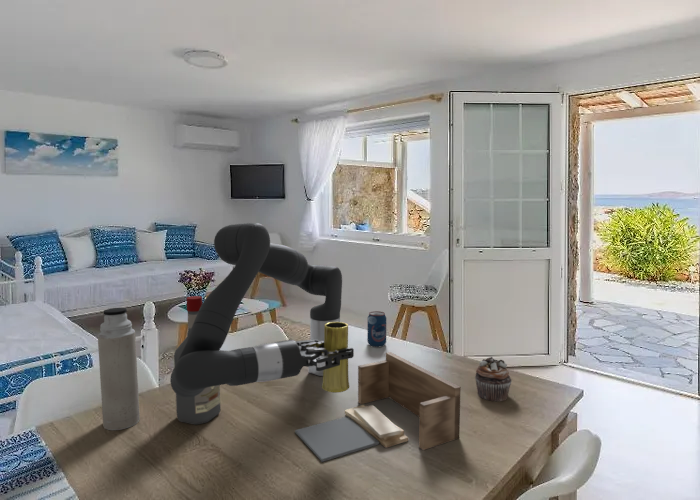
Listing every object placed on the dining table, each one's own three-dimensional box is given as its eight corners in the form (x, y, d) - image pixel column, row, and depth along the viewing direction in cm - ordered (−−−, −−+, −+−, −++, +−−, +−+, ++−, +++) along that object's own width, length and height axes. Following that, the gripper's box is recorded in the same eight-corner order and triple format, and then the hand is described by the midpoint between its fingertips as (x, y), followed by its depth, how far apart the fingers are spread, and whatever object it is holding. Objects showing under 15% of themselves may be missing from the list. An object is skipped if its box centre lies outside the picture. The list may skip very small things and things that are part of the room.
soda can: (373, 349, 169) (373, 316, 167) (364, 343, 175) (364, 312, 174) (389, 346, 172) (390, 314, 171) (380, 341, 178) (380, 310, 177)
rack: (396, 459, 98) (396, 403, 96) (334, 408, 121) (334, 363, 120) (459, 438, 106) (460, 386, 105) (390, 394, 130) (390, 352, 129)
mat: (321, 461, 97) (321, 459, 97) (295, 432, 109) (295, 430, 109) (379, 444, 104) (379, 441, 103) (347, 418, 116) (347, 416, 116)
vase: (350, 382, 108) (351, 321, 106) (347, 393, 101) (348, 329, 100) (324, 381, 108) (324, 320, 107) (319, 392, 102) (320, 328, 100)
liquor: (171, 420, 115) (165, 299, 111) (195, 405, 123) (191, 292, 120) (202, 427, 112) (197, 302, 108) (225, 410, 120) (221, 295, 117)
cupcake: (468, 395, 129) (469, 360, 128) (484, 385, 136) (485, 351, 135) (501, 406, 123) (502, 368, 121) (516, 394, 130) (518, 359, 129)
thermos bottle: (121, 412, 119) (115, 304, 116) (147, 417, 116) (141, 306, 113) (95, 427, 111) (87, 311, 108) (121, 432, 109) (115, 314, 106)
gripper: (287, 353, 90) (363, 340, 99) (262, 334, 103) (331, 324, 111) (287, 390, 91) (362, 375, 99) (262, 367, 103) (331, 355, 112)
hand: (345, 348), depth 105 cm, fingers closed on vase, 5 cm apart
